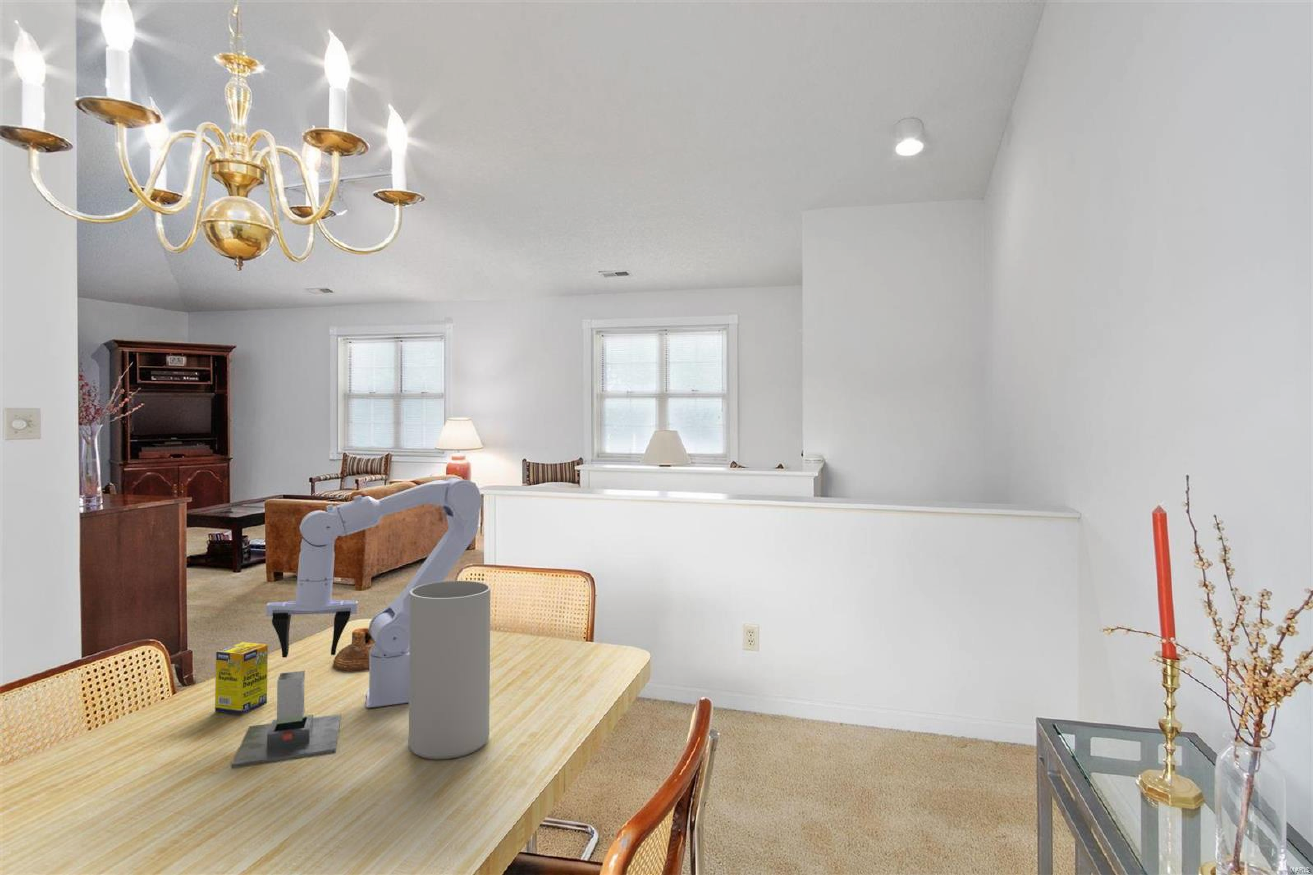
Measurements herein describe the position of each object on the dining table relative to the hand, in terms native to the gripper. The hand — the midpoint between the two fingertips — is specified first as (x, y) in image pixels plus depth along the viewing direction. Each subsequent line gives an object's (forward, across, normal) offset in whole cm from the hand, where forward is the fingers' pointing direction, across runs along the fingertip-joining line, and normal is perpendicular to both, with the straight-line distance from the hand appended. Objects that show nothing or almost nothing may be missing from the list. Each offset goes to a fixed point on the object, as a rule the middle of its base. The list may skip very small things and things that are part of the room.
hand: (309, 654), depth 120 cm
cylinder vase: (+10, -23, +21) cm, 32 cm away
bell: (+10, -9, -26) cm, 29 cm away
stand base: (+11, +1, +11) cm, 15 cm away
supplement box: (+11, +11, -7) cm, 17 cm away
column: (+8, +1, +11) cm, 13 cm away
